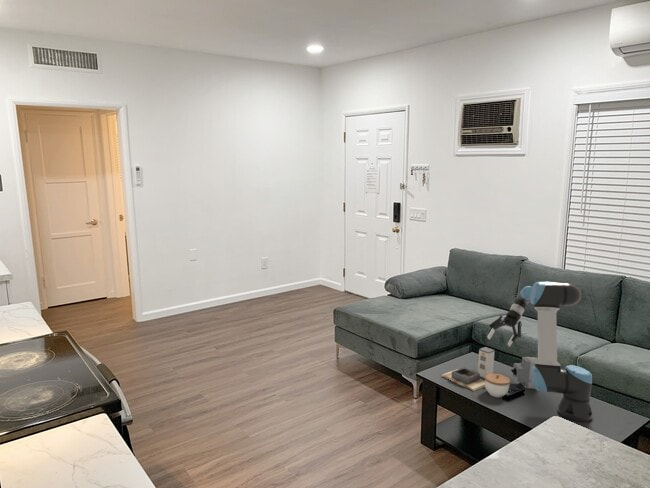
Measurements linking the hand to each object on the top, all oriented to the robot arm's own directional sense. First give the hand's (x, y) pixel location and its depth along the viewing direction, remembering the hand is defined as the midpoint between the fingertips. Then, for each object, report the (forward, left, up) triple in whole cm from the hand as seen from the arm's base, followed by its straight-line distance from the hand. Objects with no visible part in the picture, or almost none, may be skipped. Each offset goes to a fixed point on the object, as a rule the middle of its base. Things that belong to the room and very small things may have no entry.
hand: (498, 341), depth 276 cm
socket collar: (-15, +21, -17) cm, 31 cm away
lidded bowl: (-30, +8, -19) cm, 36 cm away
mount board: (-15, +21, -18) cm, 32 cm away
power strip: (-7, +8, -18) cm, 21 cm away
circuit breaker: (-17, -11, -19) cm, 28 cm away
